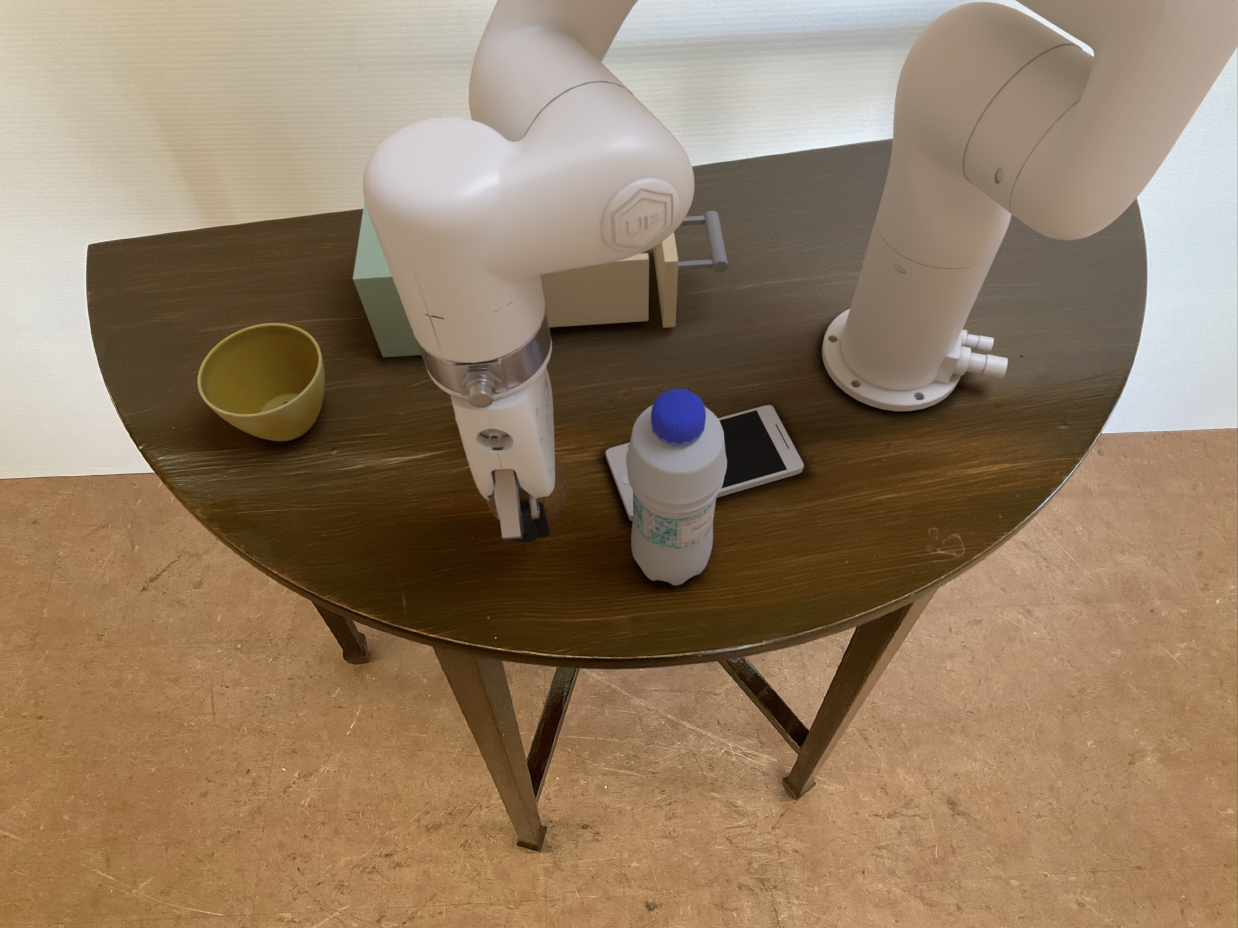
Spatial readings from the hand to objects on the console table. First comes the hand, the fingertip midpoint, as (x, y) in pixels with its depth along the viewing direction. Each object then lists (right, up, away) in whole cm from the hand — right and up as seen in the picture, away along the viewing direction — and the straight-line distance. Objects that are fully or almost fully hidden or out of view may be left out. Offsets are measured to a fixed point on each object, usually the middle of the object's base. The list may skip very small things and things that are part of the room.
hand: (527, 493), depth 64 cm
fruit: (0, -2, +3) cm, 3 cm away
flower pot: (-23, +6, +13) cm, 27 cm away
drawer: (+8, +20, +20) cm, 29 cm away
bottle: (+11, -5, +4) cm, 13 cm away
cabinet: (-9, +18, +20) cm, 28 cm away
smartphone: (+14, +2, +9) cm, 17 cm away
